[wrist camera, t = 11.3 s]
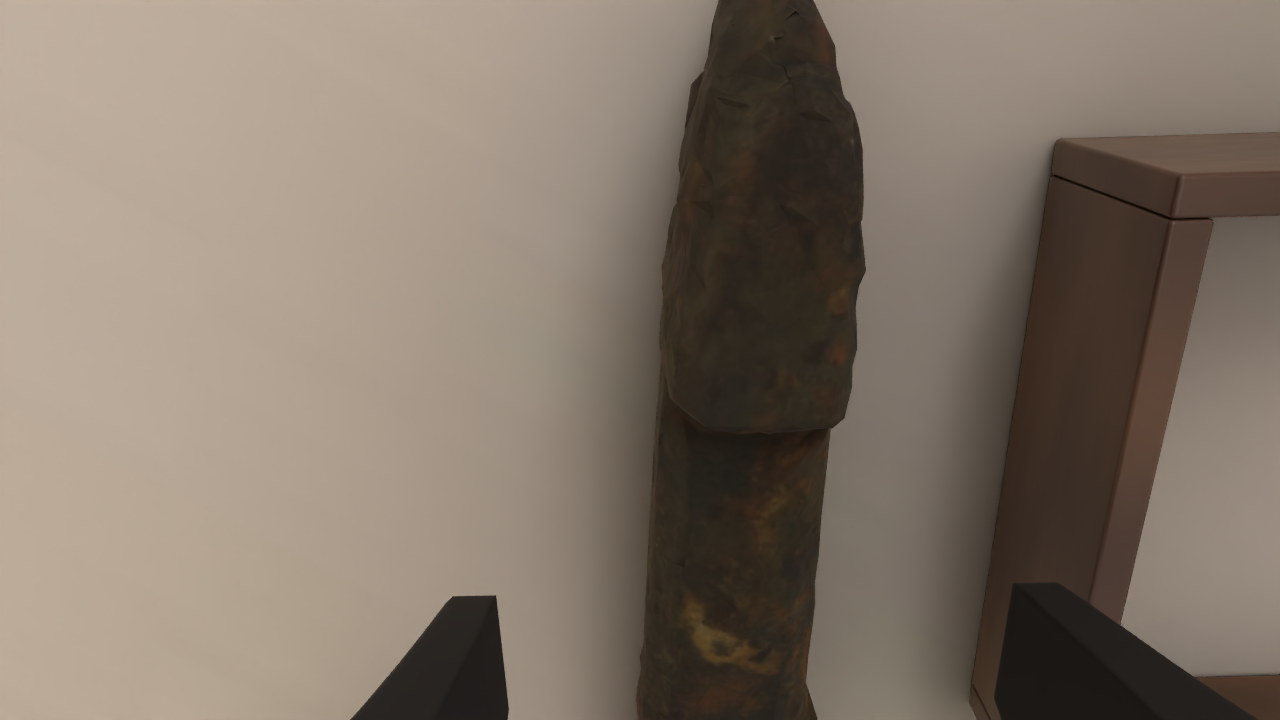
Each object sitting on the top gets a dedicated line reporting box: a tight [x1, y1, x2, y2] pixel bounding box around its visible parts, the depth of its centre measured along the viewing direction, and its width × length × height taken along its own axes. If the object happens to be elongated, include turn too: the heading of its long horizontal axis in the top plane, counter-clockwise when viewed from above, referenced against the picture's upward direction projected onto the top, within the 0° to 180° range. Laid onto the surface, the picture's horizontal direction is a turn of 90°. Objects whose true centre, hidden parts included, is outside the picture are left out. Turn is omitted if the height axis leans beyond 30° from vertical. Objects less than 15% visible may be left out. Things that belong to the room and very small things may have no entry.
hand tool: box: [636, 0, 866, 720], centre depth 14 cm, size 19×4×5 cm, turn 176°
